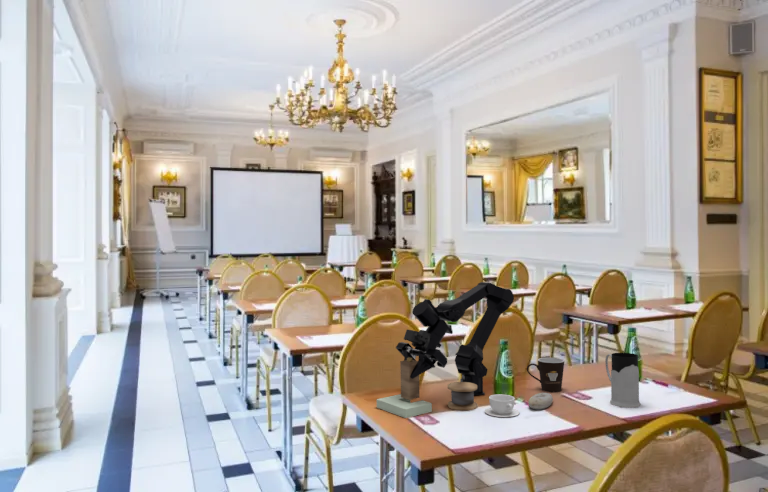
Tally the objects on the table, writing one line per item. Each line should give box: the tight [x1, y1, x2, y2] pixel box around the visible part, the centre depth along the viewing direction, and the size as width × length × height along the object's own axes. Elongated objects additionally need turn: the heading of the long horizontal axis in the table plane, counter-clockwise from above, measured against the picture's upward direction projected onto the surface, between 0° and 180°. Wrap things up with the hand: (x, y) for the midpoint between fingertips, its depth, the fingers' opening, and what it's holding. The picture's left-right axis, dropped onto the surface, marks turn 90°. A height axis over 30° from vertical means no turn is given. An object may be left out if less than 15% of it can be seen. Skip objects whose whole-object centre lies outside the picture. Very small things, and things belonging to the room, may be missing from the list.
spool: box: [447, 381, 478, 412], centre depth 179 cm, size 9×9×6 cm
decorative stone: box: [528, 392, 554, 410], centre depth 179 cm, size 6×16×3 cm, turn 149°
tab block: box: [399, 358, 420, 401], centre depth 178 cm, size 4×4×12 cm
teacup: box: [484, 393, 520, 418], centre depth 172 cm, size 10×10×5 cm
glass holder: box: [605, 352, 642, 409], centre depth 182 cm, size 9×14×15 cm, turn 12°
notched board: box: [376, 393, 433, 419], centre depth 176 cm, size 10×14×2 cm
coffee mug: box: [526, 357, 565, 393], centre depth 198 cm, size 12×9×10 cm
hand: (406, 376), depth 177 cm, fingers closed on tab block, 4 cm apart
